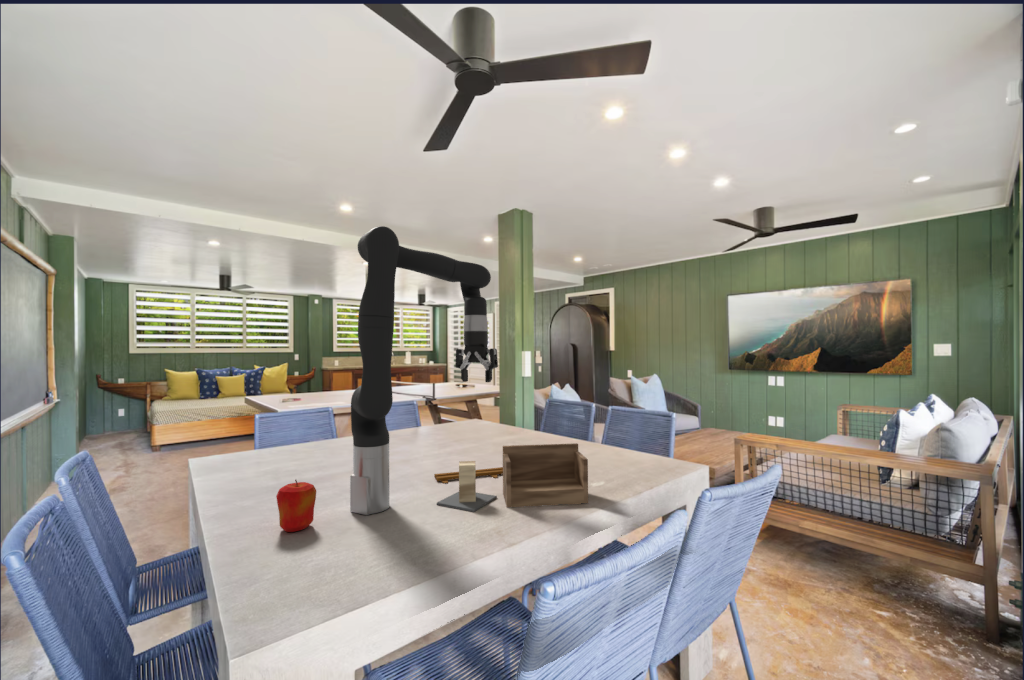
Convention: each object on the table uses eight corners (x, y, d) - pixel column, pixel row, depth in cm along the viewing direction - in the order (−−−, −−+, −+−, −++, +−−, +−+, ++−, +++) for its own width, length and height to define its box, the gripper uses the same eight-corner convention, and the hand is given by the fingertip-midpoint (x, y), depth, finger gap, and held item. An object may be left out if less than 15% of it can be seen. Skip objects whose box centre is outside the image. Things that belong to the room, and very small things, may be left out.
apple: (290, 539, 99) (290, 486, 99) (268, 532, 103) (268, 481, 103) (323, 525, 106) (323, 476, 107) (301, 519, 110) (301, 472, 111)
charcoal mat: (473, 512, 115) (473, 509, 115) (436, 504, 120) (436, 502, 120) (496, 498, 125) (496, 495, 125) (461, 492, 131) (461, 490, 131)
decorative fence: (433, 477, 148) (438, 486, 138) (433, 472, 148) (438, 480, 138) (504, 470, 156) (513, 478, 147) (504, 464, 156) (513, 472, 147)
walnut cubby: (588, 503, 120) (587, 452, 120) (506, 507, 118) (506, 454, 118) (577, 490, 131) (577, 443, 132) (502, 493, 129) (502, 445, 129)
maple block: (475, 501, 120) (475, 465, 121) (459, 502, 120) (458, 465, 120) (475, 496, 125) (475, 460, 125) (459, 496, 125) (459, 461, 125)
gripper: (501, 329, 138) (502, 381, 138) (463, 331, 145) (464, 380, 144) (489, 329, 131) (489, 383, 131) (450, 330, 138) (450, 382, 138)
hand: (476, 381), depth 138 cm, fingers open, 8 cm apart
